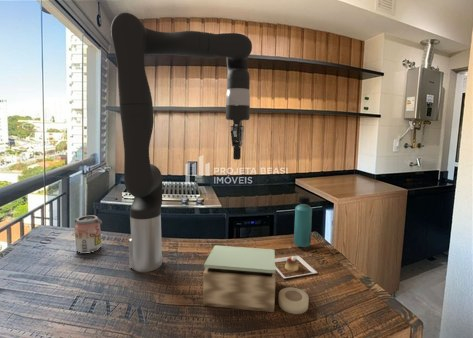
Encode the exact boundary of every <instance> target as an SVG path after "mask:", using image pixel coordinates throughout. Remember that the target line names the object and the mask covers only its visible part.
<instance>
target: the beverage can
mask: <svg viewBox="0 0 473 338" xmlns="http://www.w3.org/2000/svg"><path fill="white" fill-rule="evenodd" d="M74 223H76V224H75V225H74V237H75V248H76V249H75V250H76V252H77V251H78V252H77V253H79V252H92V251H96V250H97V249H99V248H100V247H102V235H101V232H102V231H101V224H102V223H103V221H102V219H100V218H99V217H98V216H96V215H94V214H93V215H82V216H80V217H78V218H74ZM100 249H101V248H100ZM100 249H99V250H100ZM96 252H97V251H96Z"/></svg>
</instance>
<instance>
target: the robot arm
mask: <svg viewBox="0 0 473 338" xmlns="http://www.w3.org/2000/svg"><path fill="white" fill-rule="evenodd" d="M110 35H111V39H112V44H113V49H114V55H115V60H116V65H117V67H116V68H117V81H118V82H117V86H118V89H117V90H118V100H119V101H118V102H119V113H120V122H121V131H122V141H123V143H122V144H123V151H124V152H123V153H124V154H123V157H124V159H123V160H124V162H123V163H124V165H123V166H124V167H123V181H124V186H125V189H126V191H127V192H128V193H129V194H130V195H131V196H132V197H134V198H133V200H132V204H131V206H130V208H129V220H130V222H129V223H130V238H129V240H128V254H129V255H128V259H129V269H131V268H132V270H133V271H136V272H139V273H147V272H152V271H156V270H157V269H159V268H160V267H161V266H162V265H163V255H162V254H163V252H162V249H163V248H162V219H161V218H162V216H161V210H162V205H163V176H162V172H161V170H160V168H159V167H158V166H156V165H154V164H151V161H150V143H151V138H152V135H153V129H154V122H155V121H154V119H155V117H154V106H153V97H152V92H151V89H150V85H149V81H148V77H147V72H146V68H145V55H176V56H184V57H194V58H200V59H201V58H202V59H203V58H204V59H212V60H213V59H217V58H226V67H227V68H226V69H227V75H226V76H227V77H226V93H225V94H226V96H225V119H226V120H228V121H232V125H230V138H231V146H232V149H233V152H232V153H233V156H232V159H233V160H237V161H238V160H241V158H242V157H241V156H242V155H241V153H242V149H241V148H242V146H243V140H244V132H245V125H243V121H249V120H250V115H251V114H250V113H251V112H250V111H251V110H250V109H251V108H250V107H251V93H250V86H251V85H250V84H251V83H250V80H251V79H250V73H249V71H248V70H249V68H248V66H249V56H250V55H251V53H252V50H253V43H252V41H251V39H250V38H249V37H248V36H247V35H245V34H242V33H239V32H238V33H237V32H227V33H225V32H223V33H212V32H205V31H199V30H198V31H196V30H184V31H172V32H169V31H167V32H165V31H158V30H157V31H156V30H155V29H154V30H153V29H149V28H146V27H145V25H144V23H143V21H141V20H140V18H138V17H137V16H136V15H134V14H133V13H130V12H121V13H118V14H117V15H116V16H115V17H114V19H112V22H111V26H110Z"/></svg>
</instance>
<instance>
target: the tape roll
mask: <svg viewBox="0 0 473 338" xmlns="http://www.w3.org/2000/svg"><path fill="white" fill-rule="evenodd" d="M309 299H310V298H309V295H308V294H307V292H305V291H304V290H302V289H300V288H297V287H290V286H289V287H285V288H284V287H283V288H282V289H281V290H280V291H279V292H278V306H279V308H280V309H281V310H283V311H284V312H286V313H289V314H292V315H301V314H304V313H306V312H307V311H308V309H309Z"/></svg>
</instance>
